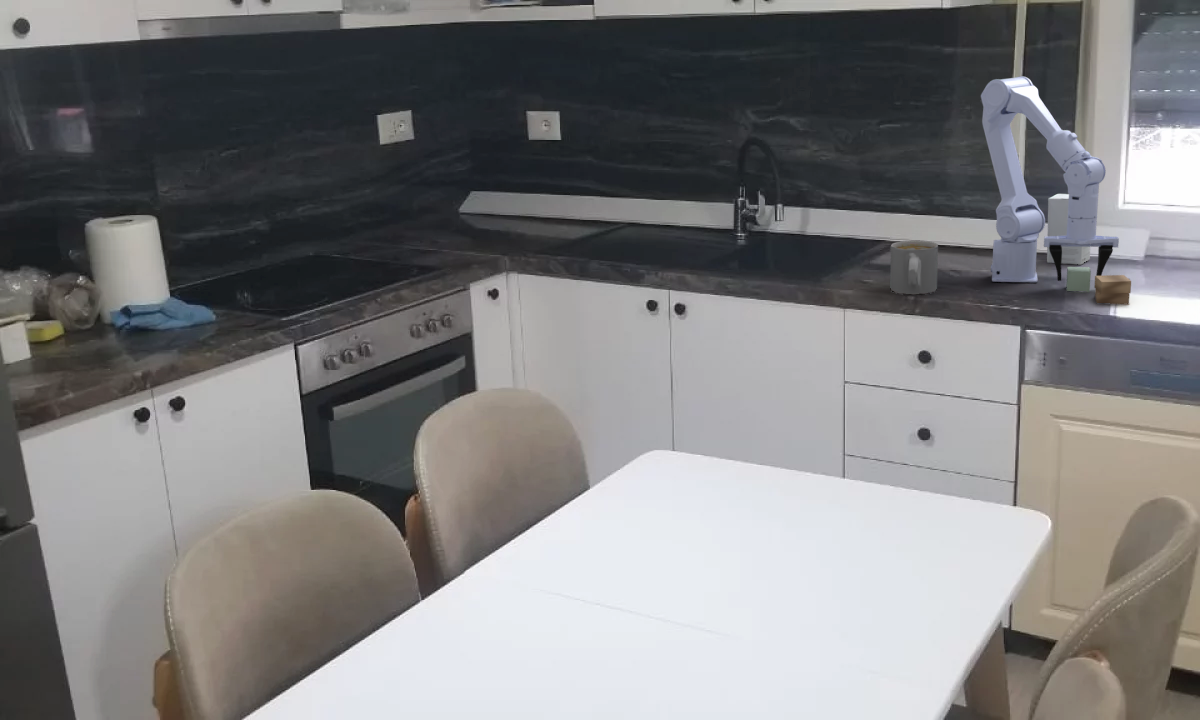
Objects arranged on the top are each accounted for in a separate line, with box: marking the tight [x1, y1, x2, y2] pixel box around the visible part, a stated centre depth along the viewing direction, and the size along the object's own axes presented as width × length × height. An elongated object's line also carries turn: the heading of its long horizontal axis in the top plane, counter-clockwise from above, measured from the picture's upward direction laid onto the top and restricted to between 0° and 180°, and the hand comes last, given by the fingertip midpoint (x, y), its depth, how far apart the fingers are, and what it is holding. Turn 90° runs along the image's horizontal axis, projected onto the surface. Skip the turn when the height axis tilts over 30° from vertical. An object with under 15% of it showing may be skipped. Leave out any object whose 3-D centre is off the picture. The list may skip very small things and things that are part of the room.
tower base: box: [1094, 288, 1131, 305], centre depth 241 cm, size 6×6×2 cm
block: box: [1065, 266, 1092, 293], centre depth 250 cm, size 4×4×4 cm
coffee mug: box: [889, 240, 939, 294], centre depth 256 cm, size 13×10×10 cm
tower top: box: [1094, 274, 1132, 294], centre depth 240 cm, size 6×6×2 cm
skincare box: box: [1046, 193, 1091, 266], centre depth 274 cm, size 8×7×16 cm
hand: (1078, 280), depth 250 cm, fingers open, 7 cm apart
